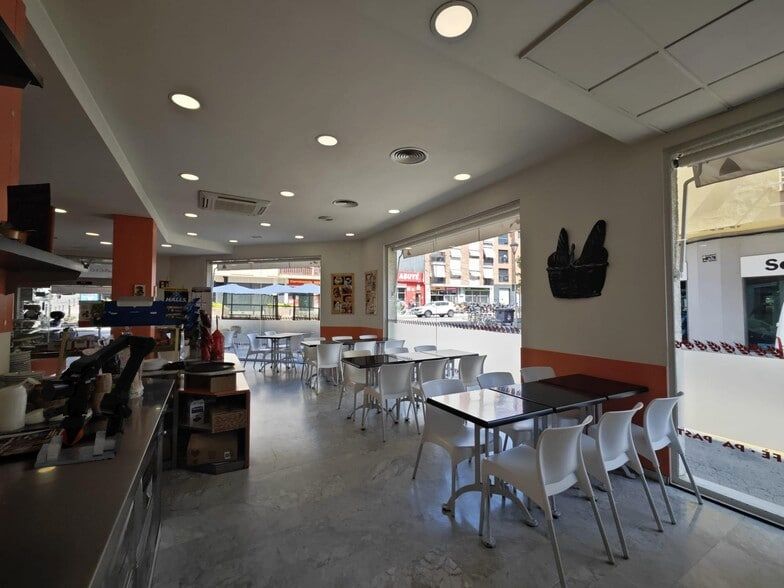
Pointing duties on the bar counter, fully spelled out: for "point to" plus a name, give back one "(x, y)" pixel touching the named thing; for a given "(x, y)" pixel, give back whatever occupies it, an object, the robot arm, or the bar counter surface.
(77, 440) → the onion
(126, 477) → the bar counter surface
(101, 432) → the sliding jaw
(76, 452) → the vise base
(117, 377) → the coffee jar
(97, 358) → the robot arm
